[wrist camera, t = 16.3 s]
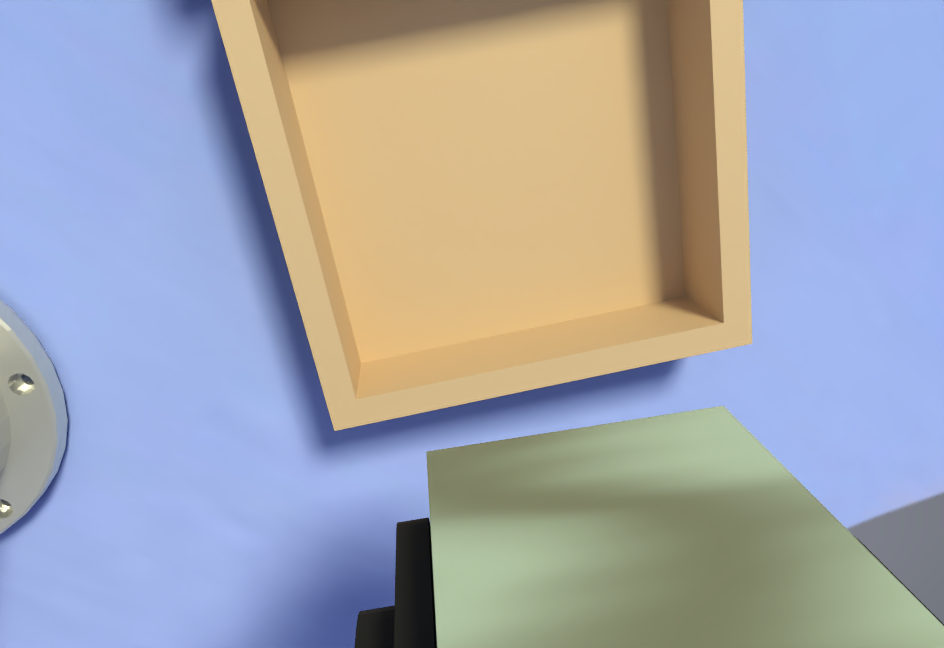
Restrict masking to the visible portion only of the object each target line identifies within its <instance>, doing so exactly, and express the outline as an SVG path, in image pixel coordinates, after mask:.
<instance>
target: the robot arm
mask: <svg viewBox="0 0 944 648" xmlns="http://www.w3.org/2000/svg"><path fill="white" fill-rule="evenodd" d="M67 422H68V419H67V412H66V406H65V400H64V393H63V390H62V387H61V385H60V382H59V379H58V377H57V374H56V372H55V369H54V366H53V364H52V362H51V360H50V359H49V357H48V355H47V354H46V352H45V351H44V349H43V347H42V346H41V344H40V343H39V341H38V339H37V338H36V336H35V335H34V334H33V332H32V331H31V330H30V329H29V328H28V327H27V326H26V325H25V323H24V322H23V321H22V320H21V319H20V318H19V317H18V316H17V315H16V313H15V312H14V311H13V310H12V309H11V308H10V307H9V306H7V305H6V304H5V303H4V302H3V301H1V300H0V534H1V533H3V532H4V531H5V530H7V529H8V528H9V527H10V526H12V525H13V524H14V523H15V522H17V521H18V520H19V519H20V518H22V517H23V516H24V515H25V514H26V513H27V512H28V511H29V510H30V509H31V508H32V506H33V505H34V504H35V503H36V502H37V501H38V500H39V498H40V497H41V496H42V495H43V494H44V493H45V491H46V489H47V488H48V486H49V485H50V483H51V481H52V480H53V478H54V477H55V475H56V473H57V472H58V469H59V466H60V463H61V460H62V457H63V454H64V451H65V447H66V436H67ZM854 537H855V536H854ZM855 538H856V537H855ZM856 539H857V538H856ZM857 540H858V539H857ZM858 541H859V540H858ZM859 542H860V541H859ZM860 543H861V542H860ZM861 544H862V543H861ZM862 545H863V544H862ZM863 546H864V547H865V548H866V546H865V545H863ZM866 549H867V548H866ZM867 550H868V549H867ZM868 551H869V552H870V553H871V554H872V552H871V551H870V550H868ZM872 555H873V556H874V557H875V558H876V559H877V560H878V561H879V559H878V558H877V557H876V556H875V555H874V554H872ZM879 562H880V563H881V564H882V565H883V563H882V562H881V561H879ZM883 566H884V567H885V565H883ZM885 568H886V567H885ZM886 569H887V570H888V571H889V572H890V573H891V574H892V575H893V573H892V572H891V571H890V570H889V569H888V568H886ZM893 576H894V575H893ZM894 577H895V578H896V579H897V580H898V581H899V582H900V583H901V584H902V585H903V583H902V582H901V581H900V580H899V579H898V578H897V577H896V576H894ZM903 586H904V587H905V588H906V589H907V587H906V586H905V585H903ZM907 590H908V591H909V592H910V593H911V594H912V595H913V596H914V597H915V598H916V599H917V600H918V601H919V602H920V603H921V604H922V605H923V606H924V607H925V608H926V609H927V610H928V611H929V612H930V613H931V614H932V615H933V616H934V617H935V618H936V619H937V620H938V621H939V622H940V623H941V624H942V622H941V621H940V620H939V619H938V618H937V617H936V616H935V615H934V614H933V613H932V612H931V611H930V610H929V609H928V608H927V607H926V606H925V605H924V604H923V603H922V602H921V601H920V600H919V599H918V598H917V597H916V596H915V595H914V594H913V593H912V592H911V591H910V590H909V589H907ZM942 625H943V626H944V624H942ZM355 648H437V633H436V615H435V597H434V579H433V561H432V542H431V526H430V521H429V518H423V519H417V520H411V521H405V522H398V523H397V531H396V577H395V606H390V607H384V608H378V609H372V610H366V611H360V612H359V615H358V620H357V628H356V639H355Z"/></svg>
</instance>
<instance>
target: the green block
mask: <svg viewBox="0 0 944 648" xmlns="http://www.w3.org/2000/svg"><path fill="white" fill-rule="evenodd" d="M427 469H428V488H429V506H430V524H431V542H432V561H433V579H434V597H435V615H436V633H437V648H944V626H943V625H942V624H941V623H940V622H939V621H938V620H937V619H936V618H935V617H934V616H933V615H932V614H931V613H930V612H929V611H928V610H927V609H926V608H925V607H924V606H923V605H922V604H921V603H920V602H919V601H918V600H917V599H916V598H915V597H914V596H913V595H912V594H911V593H910V592H909V591H908V590H907V589H906V588H905V587H904V586H903V585H902V584H901V583H900V582H899V581H898V580H897V579H896V578H895V577H894V576H893V575H892V574H891V573H890V572H889V571H888V570H887V569H886V568H885V567H884V566H883V565H882V564H881V563H880V562H879V561H878V560H877V559H876V558H875V557H874V556H873V555H872V554H871V553H870V552H869V551H868V550H867V549H866V548H865V547H864V546H863V545H862V544H861V543H860V542H859V541H858V540H857V539H856V538H855V537H854V536H853V535H852V534H851V533H850V532H849V531H848V530H847V529H846V528H845V527H844V526H843V525H842V524H841V523H840V522H839V521H838V520H837V519H836V518H835V517H834V516H833V515H832V514H831V513H830V512H829V511H828V510H827V509H826V508H825V507H824V506H823V505H822V504H821V503H820V502H819V501H818V500H817V499H816V498H815V497H814V496H813V495H812V494H811V493H810V492H809V491H808V490H807V489H806V488H805V487H804V486H803V485H802V484H801V483H800V482H799V481H798V480H797V479H796V478H795V477H794V476H793V475H792V474H791V473H790V472H789V471H788V470H787V469H786V468H785V467H784V466H783V465H782V464H781V463H780V462H779V461H778V460H777V459H776V458H775V457H774V456H773V455H772V454H771V453H770V452H769V451H768V450H767V449H766V448H765V447H764V446H763V445H762V444H761V443H760V442H759V441H758V440H757V439H756V438H755V437H754V436H753V435H752V434H751V433H750V432H749V431H748V430H747V429H746V428H745V427H744V426H743V425H742V424H741V423H740V422H739V421H738V420H737V419H736V418H735V417H734V416H733V415H732V414H731V413H730V412H729V411H728V410H727V409H726V408H725V407H724V406H719V407H713V408H706V409H700V410H693V411H687V412H680V413H674V414H667V415H661V416H654V417H648V418H641V419H635V420H628V421H622V422H615V423H609V424H603V425H596V426H590V427H583V428H577V429H570V430H564V431H557V432H551V433H544V434H538V435H531V436H525V437H518V438H512V439H505V440H499V441H492V442H486V443H480V444H473V445H467V446H460V447H454V448H447V449H441V450H434V451H428V452H427Z"/></svg>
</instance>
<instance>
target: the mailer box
mask: <svg viewBox="0 0 944 648" xmlns="http://www.w3.org/2000/svg"><path fill="white" fill-rule="evenodd" d="M211 1H212V5H213V8H214V12H215V15H216V19H217V22H218V26H219V29H220V33H221V36H222V40H223V43H224V47H225V50H226V54H227V57H228V61H229V64H230V68H231V71H232V75H233V78H234V82H235V85H236V89H237V92H238V96H239V99H240V103H241V106H242V110H243V113H244V117H245V120H246V124H247V127H248V131H249V134H250V138H251V141H252V145H253V148H254V152H255V155H256V159H257V162H258V166H259V169H260V173H261V176H262V180H263V183H264V187H265V190H266V194H267V197H268V201H269V204H270V208H271V211H272V215H273V218H274V222H275V225H276V229H277V232H278V236H279V239H280V243H281V246H282V250H283V253H284V257H285V260H286V264H287V267H288V271H289V274H290V278H291V281H292V285H293V288H294V292H295V295H296V299H297V302H298V306H299V309H300V313H301V316H302V320H303V323H304V327H305V330H306V334H307V337H308V341H309V344H310V348H311V351H312V355H313V358H314V362H315V365H316V369H317V372H318V376H319V379H320V383H321V386H322V390H323V393H324V397H325V400H326V403H327V407H328V410H329V414H330V417H331V421H332V424H333V428H334V431H337V430H342V429H346V428H351V427H356V426H361V425H366V424H370V423H375V422H380V421H385V420H389V419H394V418H399V417H404V416H409V415H413V414H418V413H423V412H428V411H432V410H437V409H442V408H447V407H452V406H456V405H461V404H466V403H471V402H475V401H480V400H485V399H490V398H494V397H499V396H504V395H509V394H514V393H518V392H523V391H528V390H533V389H537V388H542V387H547V386H552V385H557V384H561V383H566V382H571V381H576V380H580V379H585V378H590V377H595V376H600V375H604V374H609V373H614V372H619V371H623V370H628V369H633V368H638V367H643V366H647V365H652V364H657V363H662V362H666V361H671V360H676V359H681V358H686V357H690V356H695V355H700V354H705V353H709V352H714V351H719V350H724V349H729V348H733V347H738V346H743V345H748V344H752V319H751V282H750V245H749V209H748V172H747V135H746V99H745V62H744V26H743V0H211Z"/></svg>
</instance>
